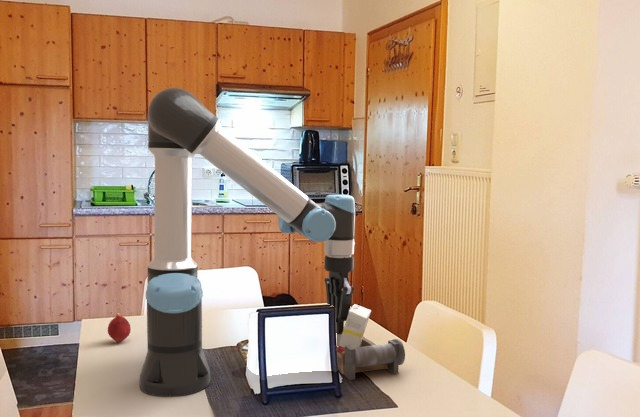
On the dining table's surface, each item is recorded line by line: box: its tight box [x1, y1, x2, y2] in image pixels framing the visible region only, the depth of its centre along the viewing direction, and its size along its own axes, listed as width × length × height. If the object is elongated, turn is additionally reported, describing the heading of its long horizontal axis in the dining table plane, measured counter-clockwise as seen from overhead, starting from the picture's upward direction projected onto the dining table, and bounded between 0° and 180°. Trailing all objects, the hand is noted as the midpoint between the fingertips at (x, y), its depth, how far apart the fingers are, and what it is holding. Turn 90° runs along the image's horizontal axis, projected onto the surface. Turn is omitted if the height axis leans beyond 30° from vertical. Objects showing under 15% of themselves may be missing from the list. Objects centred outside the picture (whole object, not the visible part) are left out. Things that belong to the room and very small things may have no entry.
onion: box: [107, 312, 131, 344], centre depth 162 cm, size 6×6×8 cm
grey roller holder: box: [336, 336, 406, 381], centre depth 148 cm, size 13×22×8 cm, turn 23°
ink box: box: [336, 303, 372, 354], centre depth 152 cm, size 9×5×12 cm, turn 167°
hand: (337, 345), depth 158 cm, fingers closed
